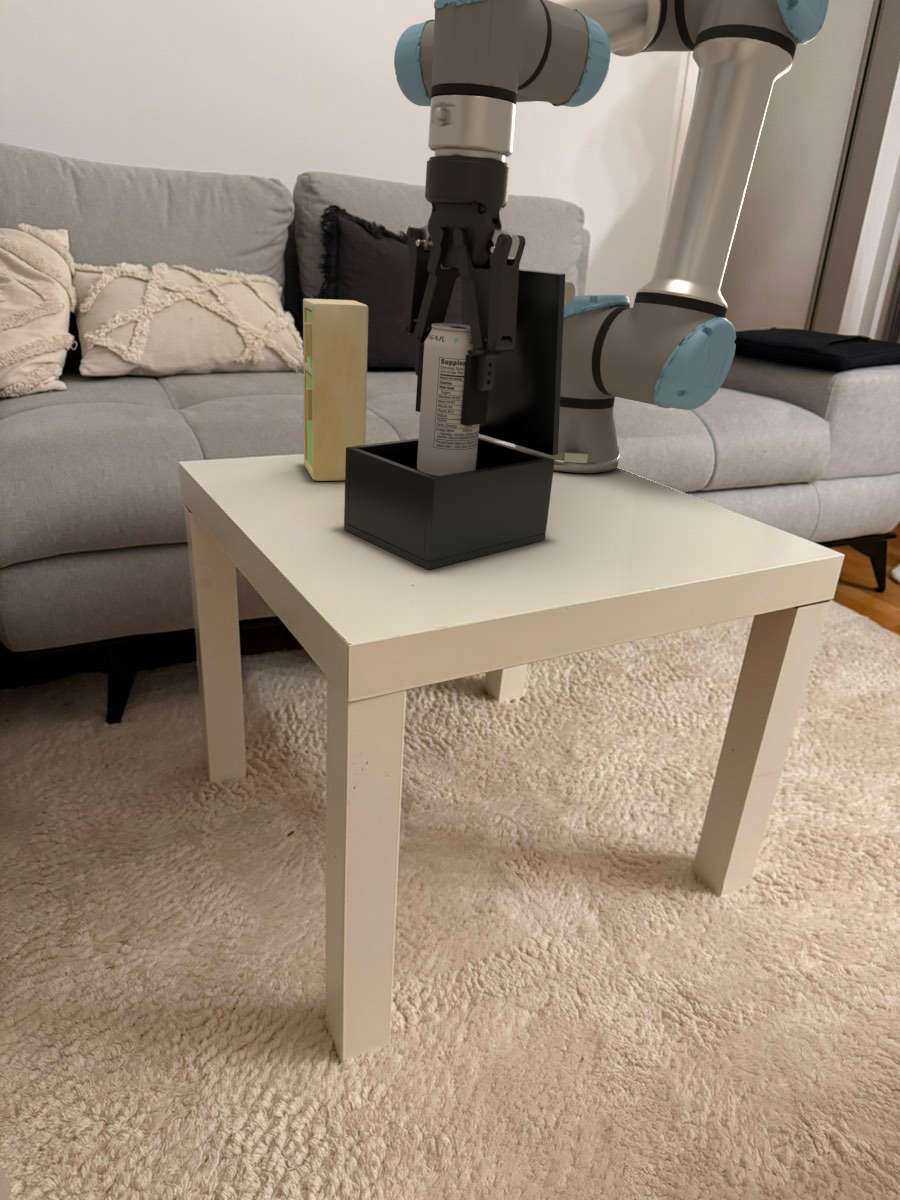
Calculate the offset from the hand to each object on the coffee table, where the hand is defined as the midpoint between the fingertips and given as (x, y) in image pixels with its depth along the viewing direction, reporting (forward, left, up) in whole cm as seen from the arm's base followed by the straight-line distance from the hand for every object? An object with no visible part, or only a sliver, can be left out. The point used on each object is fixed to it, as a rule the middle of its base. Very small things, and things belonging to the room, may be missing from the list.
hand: (450, 416), depth 85 cm
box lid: (-7, 0, +5) cm, 9 cm away
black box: (-1, 0, -13) cm, 13 cm away
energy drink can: (0, 0, -6) cm, 6 cm away
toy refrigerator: (-4, -26, -13) cm, 29 cm away
